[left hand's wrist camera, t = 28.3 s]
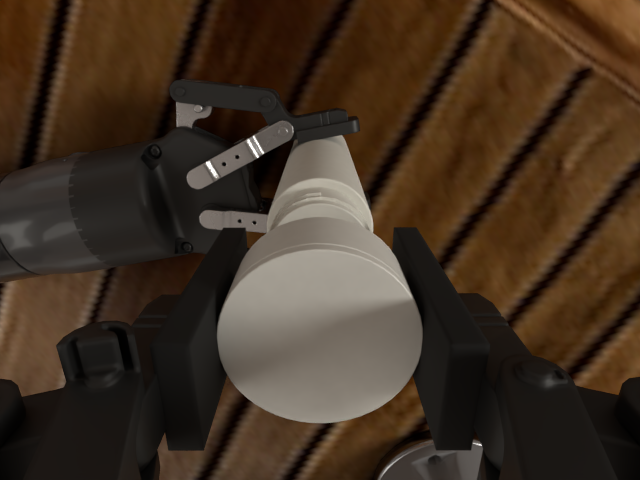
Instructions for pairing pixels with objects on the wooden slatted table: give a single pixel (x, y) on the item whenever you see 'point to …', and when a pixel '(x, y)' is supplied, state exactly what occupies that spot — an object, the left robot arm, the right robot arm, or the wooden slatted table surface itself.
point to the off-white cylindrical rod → (320, 185)
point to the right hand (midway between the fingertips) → (362, 163)
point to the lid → (319, 322)
